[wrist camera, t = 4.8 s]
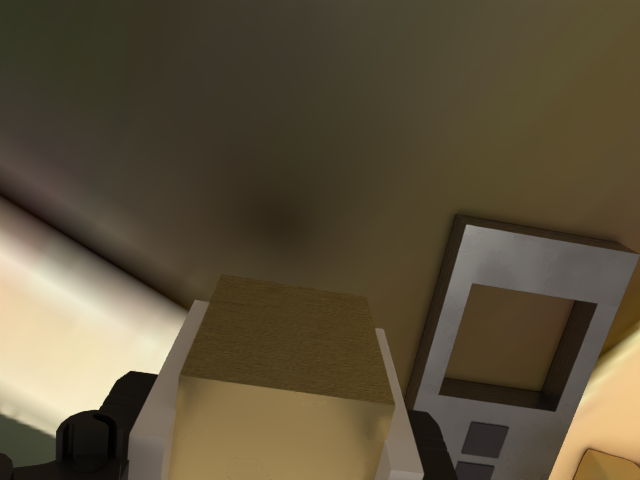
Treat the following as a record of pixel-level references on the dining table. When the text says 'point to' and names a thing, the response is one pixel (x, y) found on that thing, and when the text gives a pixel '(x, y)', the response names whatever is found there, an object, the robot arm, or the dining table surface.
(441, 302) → the metal plate
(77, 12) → the dining table surface
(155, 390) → the robot arm
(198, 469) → the yellow cube
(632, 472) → the cheese
